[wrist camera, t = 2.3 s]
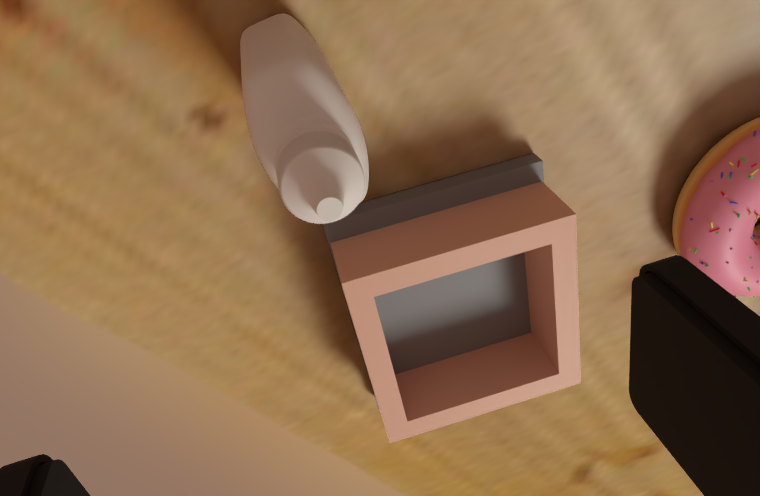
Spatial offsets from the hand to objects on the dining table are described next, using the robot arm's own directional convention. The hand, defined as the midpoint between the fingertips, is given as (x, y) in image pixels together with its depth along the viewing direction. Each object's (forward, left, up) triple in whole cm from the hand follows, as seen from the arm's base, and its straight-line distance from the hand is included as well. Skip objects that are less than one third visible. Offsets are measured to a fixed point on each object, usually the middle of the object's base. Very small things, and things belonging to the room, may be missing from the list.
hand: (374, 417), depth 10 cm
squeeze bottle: (0, 0, -19) cm, 19 cm away
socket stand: (+13, +5, -19) cm, 23 cm away
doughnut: (+13, +23, -19) cm, 33 cm away
